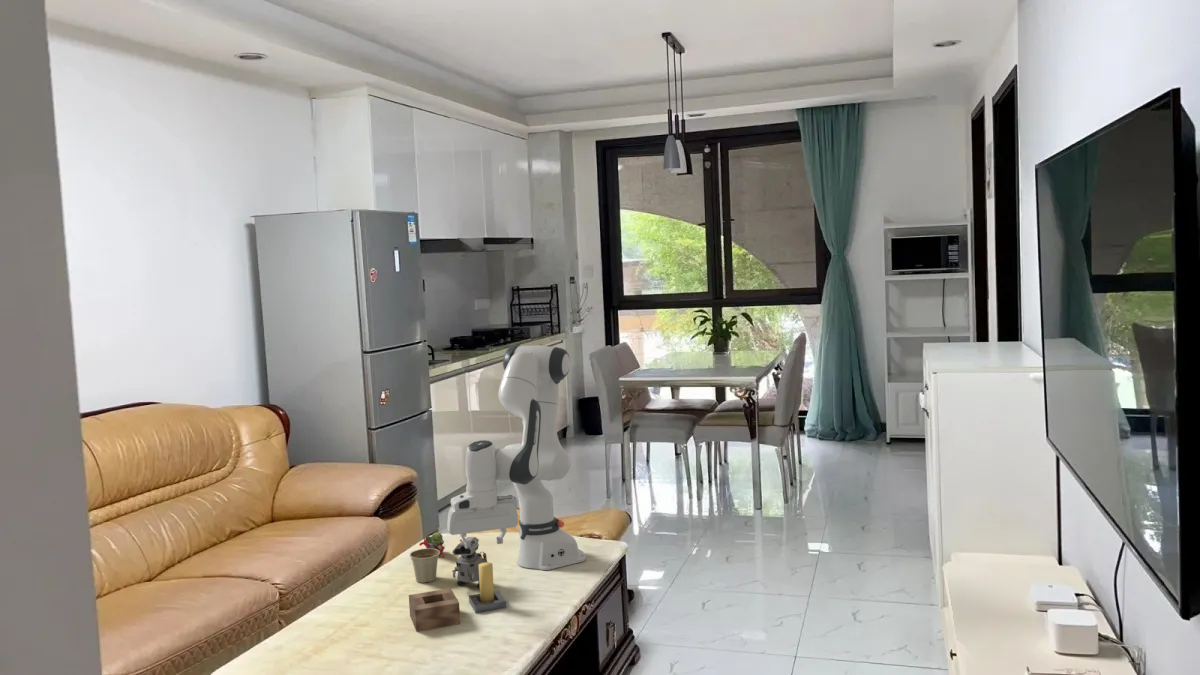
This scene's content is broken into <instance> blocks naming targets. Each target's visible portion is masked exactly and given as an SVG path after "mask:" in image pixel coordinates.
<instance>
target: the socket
mask: <svg viewBox="0 0 1200 675" xmlns="http://www.w3.org/2000/svg"><path fill="white" fill-rule="evenodd" d="M408 605H409V616H410V620H411V622H412V625H413V627H414V629H415V631H416V632H422V631H429V630H432V629H438V628H445V627H449V626H455V625H461V614H460V610H461V609H460V602H459V599H457V597H456V594H455V593H454V592H453V589H452V588H451V587H449V588H445V589H444V588H443V589H437V590H433V591H425V592H420V593H414V594H408Z"/></svg>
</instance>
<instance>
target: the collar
mask: <svg viewBox="0 0 1200 675" xmlns="http://www.w3.org/2000/svg"><path fill="white" fill-rule="evenodd" d="M468 603H469V605H470V606H471V608H472V610H473V611H474V613H475V614H478V613H484V612H491V611H496V610H501V609H502V610H503V609H507V600H506V598H505V597H504V596H503V595H502V593H501V592H500V590H494V601H490V602H484V603H481V602H480V593H475V594H471V595H470V594H469V595H468Z"/></svg>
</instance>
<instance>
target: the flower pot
mask: <svg viewBox="0 0 1200 675" xmlns="http://www.w3.org/2000/svg"><path fill="white" fill-rule="evenodd" d="M440 555H441V554H440V551H439V550H437V549H431V548H420V549H416V550H413V551H412V552H410V553H409V558H410V559H411V561H412V562H411V563H412V566H413V571H414V576H415V580H416V582H417V583H421V584H423V583H424V584H425V583H431V582H434V581H435V580H437V579H436V578H437V569H438V560H439V557H440Z"/></svg>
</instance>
